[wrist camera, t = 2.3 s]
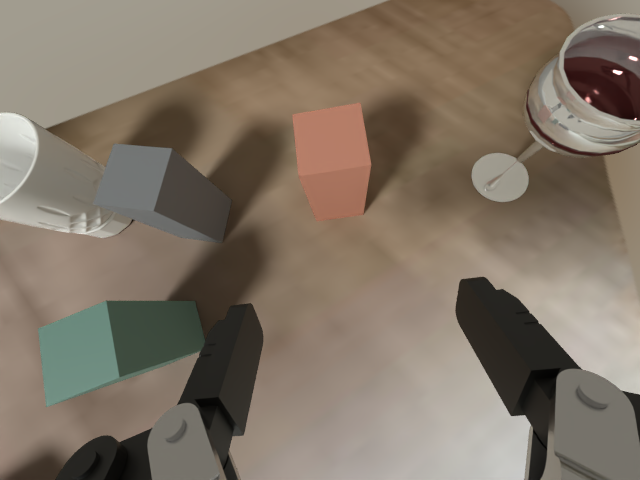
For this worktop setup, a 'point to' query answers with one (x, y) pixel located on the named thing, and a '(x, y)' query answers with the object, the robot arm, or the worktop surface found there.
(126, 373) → the green pillar
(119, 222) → the white cup
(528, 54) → the worktop surface
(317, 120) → the red pillar
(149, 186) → the charcoal pillar
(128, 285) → the worktop surface
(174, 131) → the worktop surface
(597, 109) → the wineglass
